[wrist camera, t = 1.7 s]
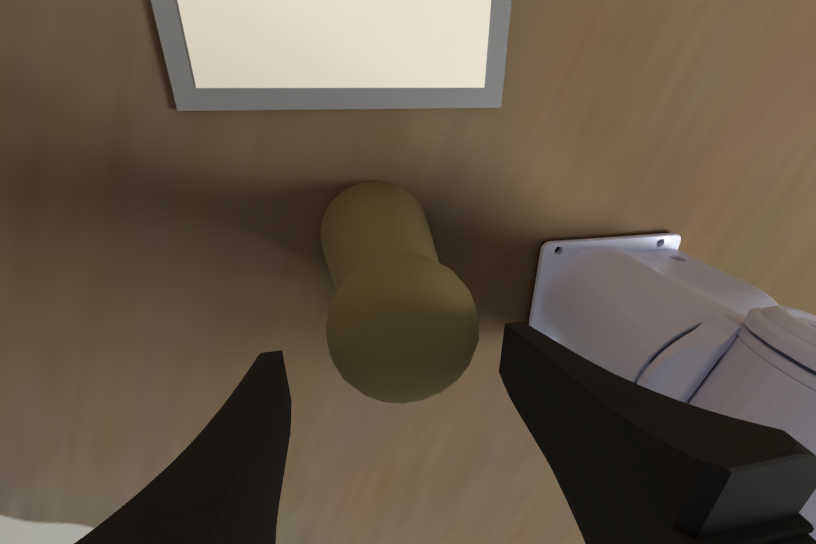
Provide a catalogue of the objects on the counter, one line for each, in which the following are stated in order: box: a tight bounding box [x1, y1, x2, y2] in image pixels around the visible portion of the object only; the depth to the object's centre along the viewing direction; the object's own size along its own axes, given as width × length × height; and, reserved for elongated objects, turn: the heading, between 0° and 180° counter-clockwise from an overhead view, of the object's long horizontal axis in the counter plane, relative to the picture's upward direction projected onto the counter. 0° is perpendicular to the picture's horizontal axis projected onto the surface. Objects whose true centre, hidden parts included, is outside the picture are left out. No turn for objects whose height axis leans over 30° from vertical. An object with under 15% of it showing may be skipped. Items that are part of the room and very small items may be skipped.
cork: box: [320, 181, 479, 403], centre depth 17 cm, size 6×6×11 cm
